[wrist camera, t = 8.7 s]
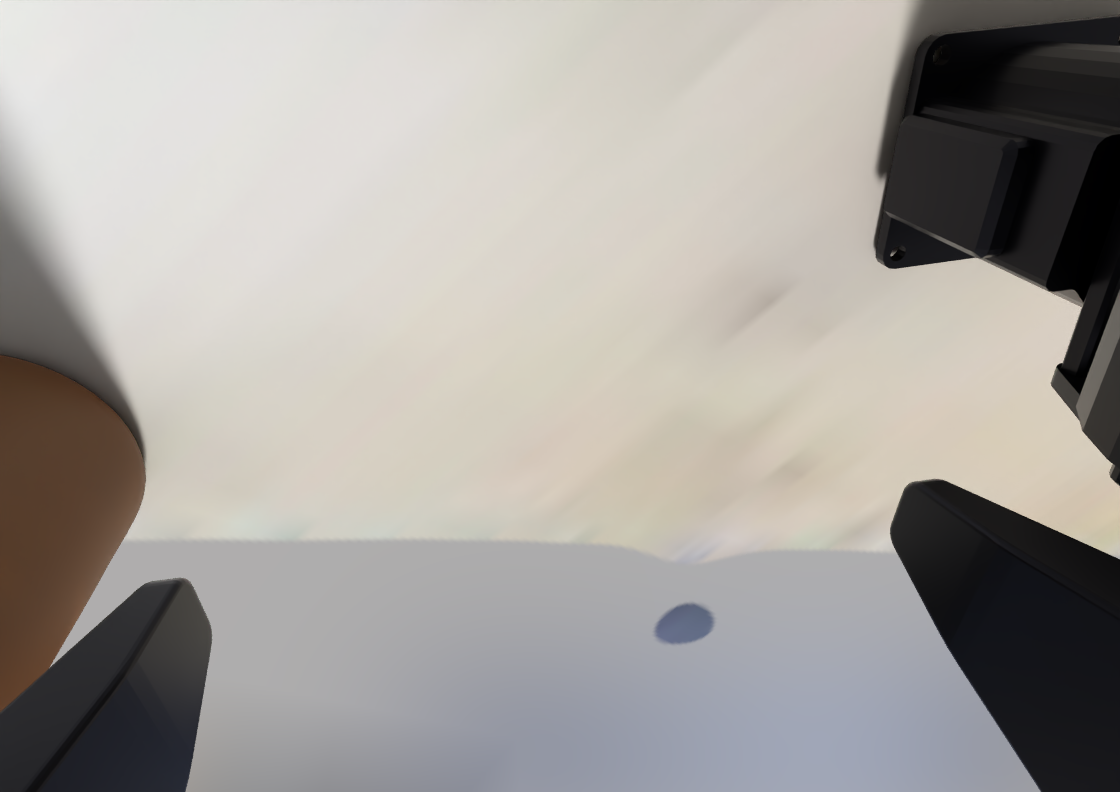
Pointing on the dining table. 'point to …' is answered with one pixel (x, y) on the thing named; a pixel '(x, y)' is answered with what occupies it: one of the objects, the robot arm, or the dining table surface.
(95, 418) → the mug
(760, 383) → the dining table surface
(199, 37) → the dining table surface
